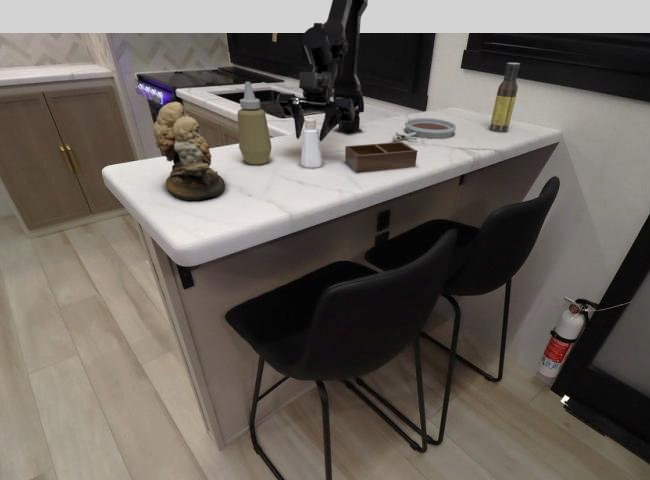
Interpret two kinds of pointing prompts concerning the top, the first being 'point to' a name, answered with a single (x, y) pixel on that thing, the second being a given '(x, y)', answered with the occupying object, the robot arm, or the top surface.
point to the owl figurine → (186, 155)
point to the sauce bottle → (505, 99)
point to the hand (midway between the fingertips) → (308, 139)
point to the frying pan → (427, 129)
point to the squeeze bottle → (253, 129)
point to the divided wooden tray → (380, 156)
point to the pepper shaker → (310, 145)
